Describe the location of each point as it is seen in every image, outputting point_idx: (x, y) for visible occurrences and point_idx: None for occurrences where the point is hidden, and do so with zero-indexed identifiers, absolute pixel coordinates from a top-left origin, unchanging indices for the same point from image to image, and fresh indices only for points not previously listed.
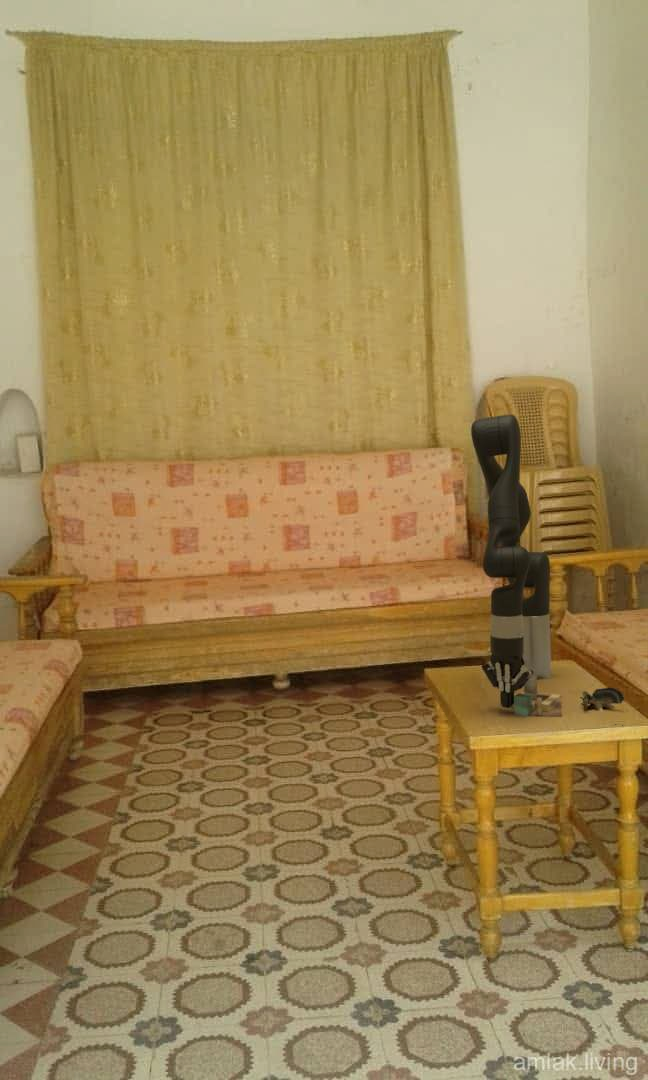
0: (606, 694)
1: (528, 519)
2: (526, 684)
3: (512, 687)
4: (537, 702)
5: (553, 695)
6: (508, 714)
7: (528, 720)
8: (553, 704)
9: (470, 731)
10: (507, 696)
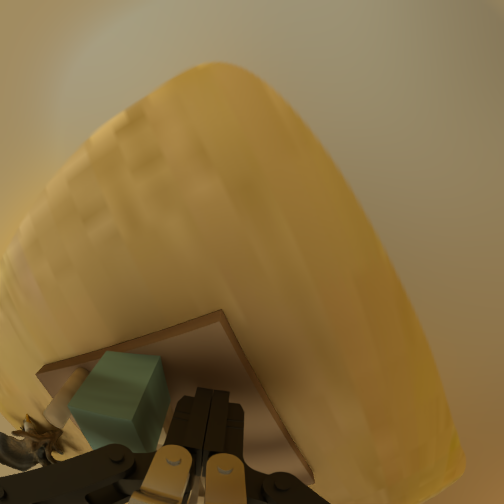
0: (15, 457)
1: None
2: None
3: (127, 465)
4: (59, 402)
5: None
6: (189, 355)
7: None
8: None
9: (277, 98)
10: (186, 429)
